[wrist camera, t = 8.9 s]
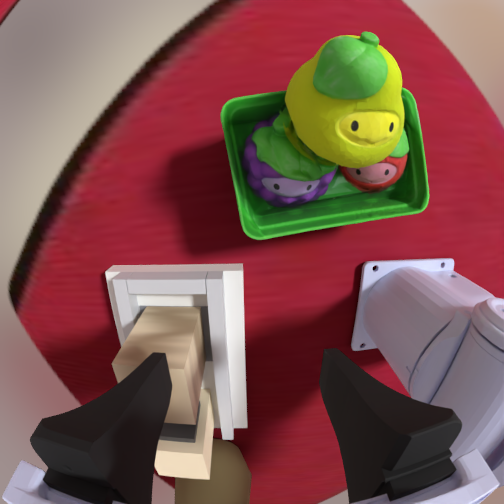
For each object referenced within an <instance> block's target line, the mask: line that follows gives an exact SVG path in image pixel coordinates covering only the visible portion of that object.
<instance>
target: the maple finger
mask: <svg viewBox="0 0 504 504" xmlns="http://www.w3.org/2000/svg"><path fill="white" fill-rule="evenodd" d="M153 352H159V353H166V357H167V362H168V367H169V372H170V376H171V381H172V385H173V386H172V393H171V399H170V404H169V408H168V411H167V415H166V418H165V421H164V422H165V423H177V424H192V425H196V419H197V412H198V406H199V399H200V393H201V387H202V380H203V374H204V368H205V362H206V351H205V342H204V333H203V324H202V314H201V307H157V306H147V307H146V308H145V310H144V312H143V313H142V315H141V316H140V318H139V319H138V321H137V323H136V324H135V326H134V328H133V329H132V331H131V332H130V334H129V336H128V337H127V339H126V341H125V342H124V344H123V345H122V347H121V349H120V350H119V352H118V354H117V355H116V357H115V359H114V361H113V362H112V367H113V370H114V373H115V376H116V378H117V381H118V383H119V382H121V381H122V380H123V379H124V378H126V377H127V376H128V375H129V374H130V373H131V372H132V371H134V370H135V369H136V368H137V367H138V366H139V365H140V364H141V363H142V362H143V361H144V360H145V359H146V358H147V357H148V356H149V355H151V354H152V353H153Z"/></svg>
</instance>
